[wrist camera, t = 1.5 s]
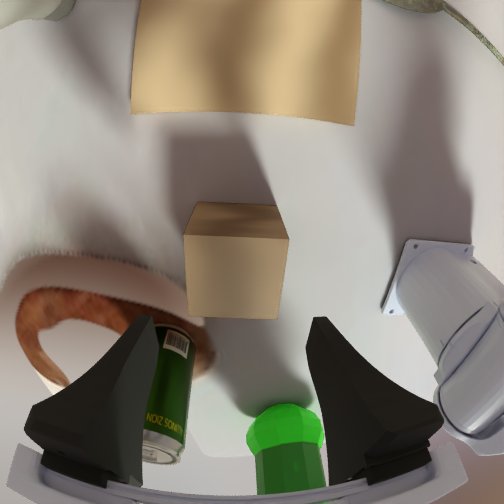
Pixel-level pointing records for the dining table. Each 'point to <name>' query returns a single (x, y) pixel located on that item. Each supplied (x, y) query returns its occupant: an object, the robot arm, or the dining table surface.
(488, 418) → the robot arm
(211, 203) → the tan cube
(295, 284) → the dining table surface
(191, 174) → the dining table surface
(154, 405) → the beer can
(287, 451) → the plastic bottle
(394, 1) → the soupspoon
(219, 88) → the oak board
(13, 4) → the lightbulb
